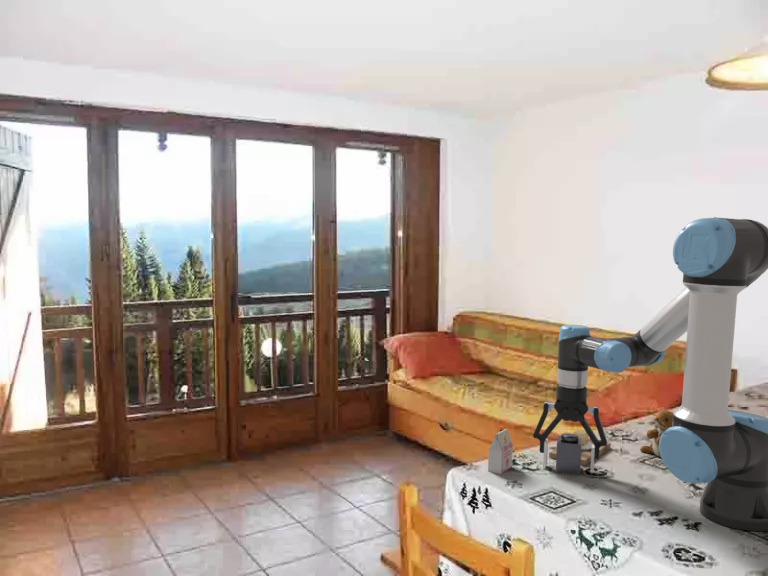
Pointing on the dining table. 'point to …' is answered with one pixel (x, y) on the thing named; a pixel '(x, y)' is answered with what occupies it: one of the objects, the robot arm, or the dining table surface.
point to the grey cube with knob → (568, 454)
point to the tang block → (584, 448)
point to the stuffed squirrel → (658, 431)
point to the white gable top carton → (500, 453)
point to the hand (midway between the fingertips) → (568, 467)
